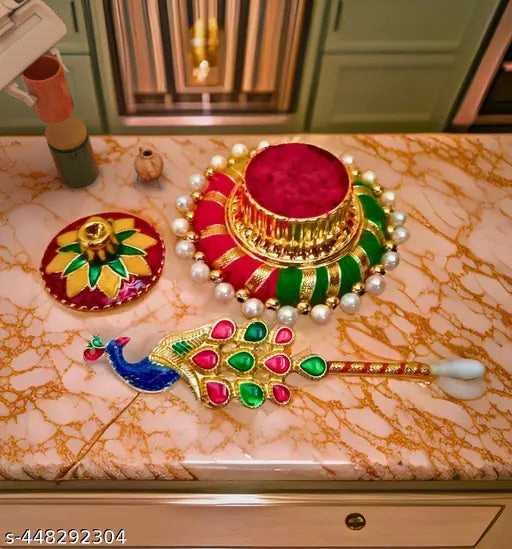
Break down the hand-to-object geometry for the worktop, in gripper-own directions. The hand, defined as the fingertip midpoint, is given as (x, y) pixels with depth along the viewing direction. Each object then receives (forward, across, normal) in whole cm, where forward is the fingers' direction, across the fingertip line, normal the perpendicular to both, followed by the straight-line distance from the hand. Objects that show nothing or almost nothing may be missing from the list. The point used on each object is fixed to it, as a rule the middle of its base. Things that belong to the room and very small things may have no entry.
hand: (50, 89), depth 99 cm
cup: (+3, 0, +4) cm, 5 cm away
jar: (+16, +2, +19) cm, 25 cm away
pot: (+26, +8, +9) cm, 29 cm away
